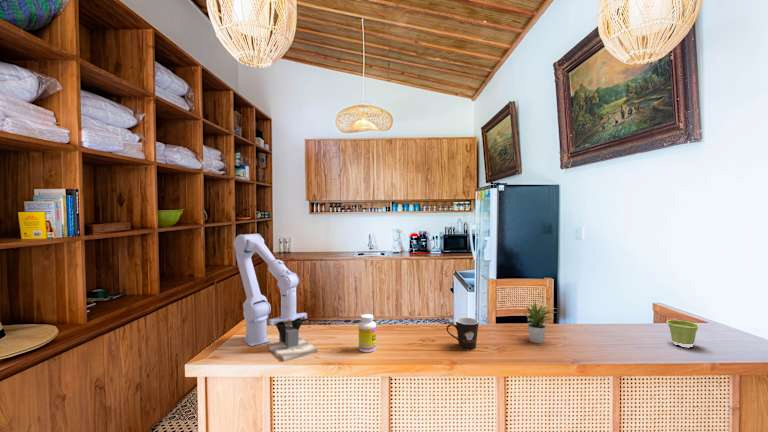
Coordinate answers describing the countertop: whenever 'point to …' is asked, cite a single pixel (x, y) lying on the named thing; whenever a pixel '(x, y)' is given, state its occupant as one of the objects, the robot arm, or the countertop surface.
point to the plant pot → (682, 331)
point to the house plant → (537, 322)
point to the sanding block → (290, 337)
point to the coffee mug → (466, 332)
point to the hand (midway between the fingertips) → (288, 339)
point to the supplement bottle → (367, 333)
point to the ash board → (292, 350)
